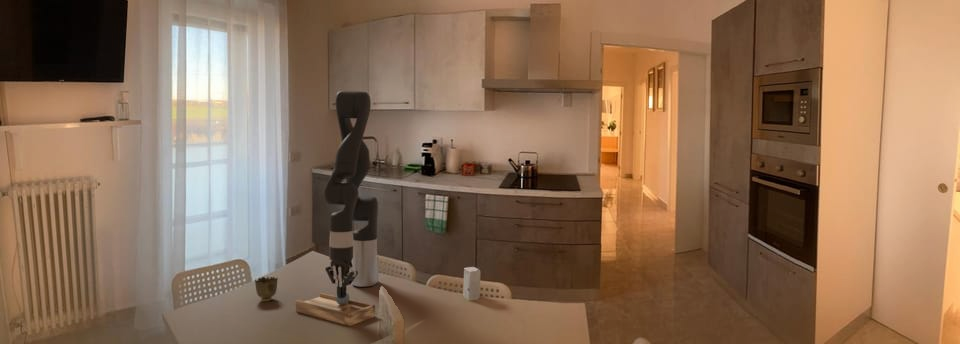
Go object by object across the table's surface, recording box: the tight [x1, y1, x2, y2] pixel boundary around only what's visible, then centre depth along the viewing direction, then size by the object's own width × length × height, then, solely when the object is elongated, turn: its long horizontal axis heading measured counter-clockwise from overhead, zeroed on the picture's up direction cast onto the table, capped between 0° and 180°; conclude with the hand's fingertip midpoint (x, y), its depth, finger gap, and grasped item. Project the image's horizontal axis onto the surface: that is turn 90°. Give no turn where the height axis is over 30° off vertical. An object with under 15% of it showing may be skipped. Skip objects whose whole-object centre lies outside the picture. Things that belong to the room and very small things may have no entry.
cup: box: [254, 276, 279, 303], centre depth 190 cm, size 8×7×8 cm
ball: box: [335, 292, 350, 305], centre depth 179 cm, size 4×4×4 cm
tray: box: [295, 292, 376, 327], centre depth 178 cm, size 11×25×4 cm, turn 58°
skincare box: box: [462, 266, 482, 302], centre depth 192 cm, size 6×4×12 cm
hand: (341, 297), depth 176 cm, fingers closed
